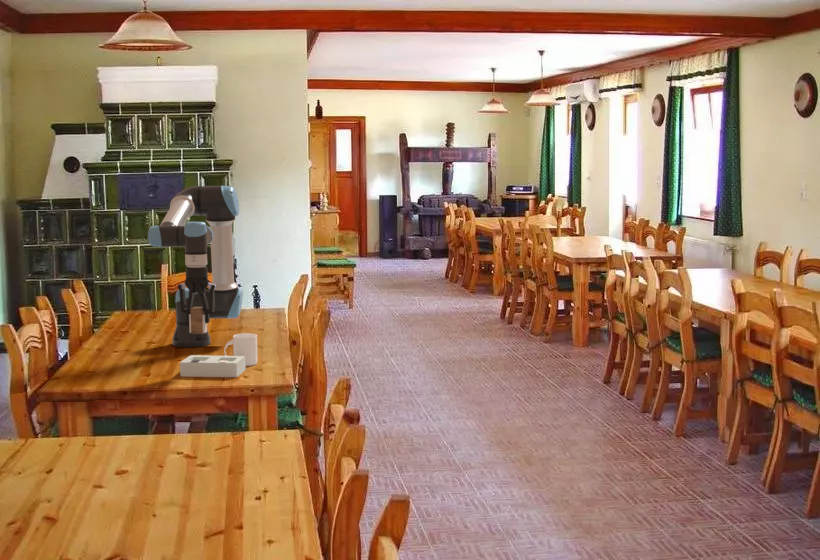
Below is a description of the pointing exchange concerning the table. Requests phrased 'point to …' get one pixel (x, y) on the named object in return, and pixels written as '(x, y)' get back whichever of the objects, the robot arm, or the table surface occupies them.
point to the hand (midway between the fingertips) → (198, 332)
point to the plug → (196, 320)
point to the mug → (245, 347)
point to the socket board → (212, 366)
